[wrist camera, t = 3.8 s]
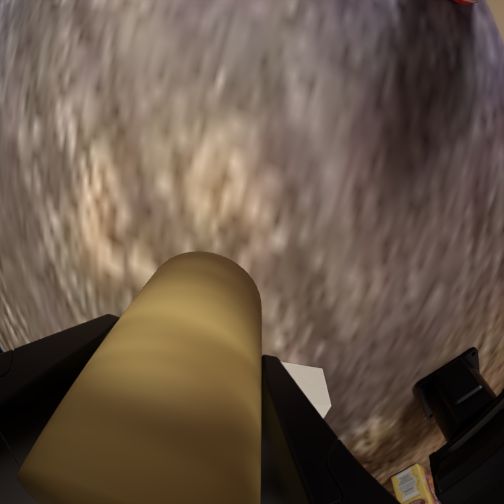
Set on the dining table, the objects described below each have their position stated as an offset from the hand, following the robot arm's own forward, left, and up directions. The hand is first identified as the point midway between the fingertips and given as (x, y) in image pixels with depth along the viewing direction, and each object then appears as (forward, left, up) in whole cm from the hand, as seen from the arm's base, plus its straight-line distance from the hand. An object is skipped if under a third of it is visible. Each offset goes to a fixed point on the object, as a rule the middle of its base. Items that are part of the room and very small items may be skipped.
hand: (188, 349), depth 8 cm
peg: (0, 0, -2) cm, 2 cm away
